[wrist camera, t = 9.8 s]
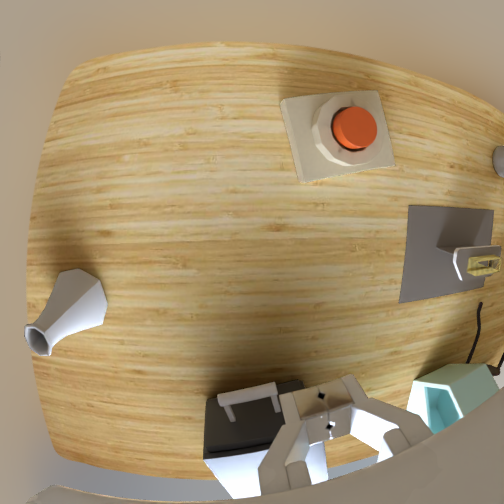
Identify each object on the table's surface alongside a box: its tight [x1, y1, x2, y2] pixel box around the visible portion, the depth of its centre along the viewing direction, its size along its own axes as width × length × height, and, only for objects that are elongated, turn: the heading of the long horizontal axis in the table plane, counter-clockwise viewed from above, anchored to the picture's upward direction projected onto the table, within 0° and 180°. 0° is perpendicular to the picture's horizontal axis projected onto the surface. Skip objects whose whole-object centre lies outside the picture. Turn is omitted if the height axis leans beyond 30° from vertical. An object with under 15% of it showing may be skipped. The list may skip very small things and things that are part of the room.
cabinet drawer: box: [205, 379, 301, 452], centre depth 29 cm, size 18×11×8 cm, turn 14°
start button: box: [333, 107, 377, 149], centre depth 21 cm, size 4×4×2 cm
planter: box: [407, 363, 499, 435], centre depth 28 cm, size 17×8×21 cm
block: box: [280, 90, 395, 183], centre depth 24 cm, size 10×8×4 cm
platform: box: [399, 205, 502, 303], centre depth 27 cm, size 12×18×7 cm, turn 92°
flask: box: [24, 268, 108, 356], centre depth 23 cm, size 7×7×10 cm
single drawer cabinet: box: [203, 381, 328, 499], centre depth 30 cm, size 15×13×10 cm
